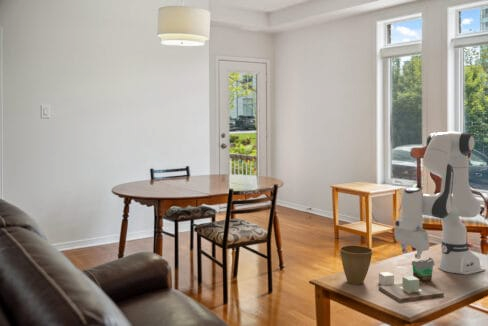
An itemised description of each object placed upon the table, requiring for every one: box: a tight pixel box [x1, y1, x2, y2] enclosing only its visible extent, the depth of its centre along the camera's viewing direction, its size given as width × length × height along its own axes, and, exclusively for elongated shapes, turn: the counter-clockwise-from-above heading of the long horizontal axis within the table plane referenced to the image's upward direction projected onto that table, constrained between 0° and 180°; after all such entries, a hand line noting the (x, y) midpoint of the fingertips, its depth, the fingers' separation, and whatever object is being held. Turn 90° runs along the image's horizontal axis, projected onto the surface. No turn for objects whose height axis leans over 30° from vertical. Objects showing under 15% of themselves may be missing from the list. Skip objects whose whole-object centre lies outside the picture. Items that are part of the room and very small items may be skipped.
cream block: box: [378, 271, 395, 286], centre depth 222 cm, size 5×5×5 cm
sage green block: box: [402, 275, 419, 292], centre depth 210 cm, size 5×5×5 cm
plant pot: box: [339, 244, 373, 285], centre depth 225 cm, size 15×15×16 cm
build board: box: [378, 281, 445, 303], centre depth 210 cm, size 22×16×2 cm
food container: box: [411, 257, 435, 284], centre depth 225 cm, size 12×6×10 cm, turn 118°
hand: (411, 255), depth 209 cm, fingers open, 8 cm apart
